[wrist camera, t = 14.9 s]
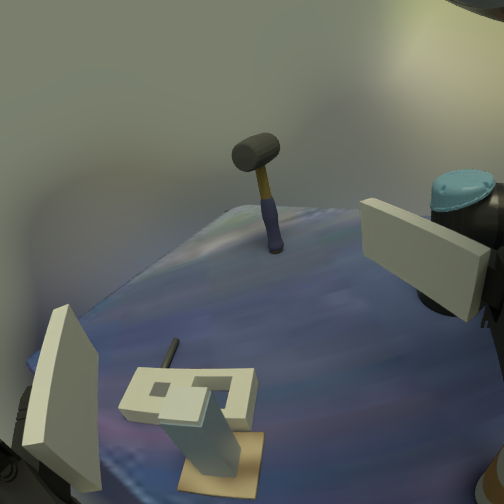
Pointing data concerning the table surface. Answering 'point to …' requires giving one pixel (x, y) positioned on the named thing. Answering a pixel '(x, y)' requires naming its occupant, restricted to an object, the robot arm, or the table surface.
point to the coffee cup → (492, 482)
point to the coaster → (227, 486)
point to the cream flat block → (160, 379)
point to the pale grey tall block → (200, 430)
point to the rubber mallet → (261, 179)
